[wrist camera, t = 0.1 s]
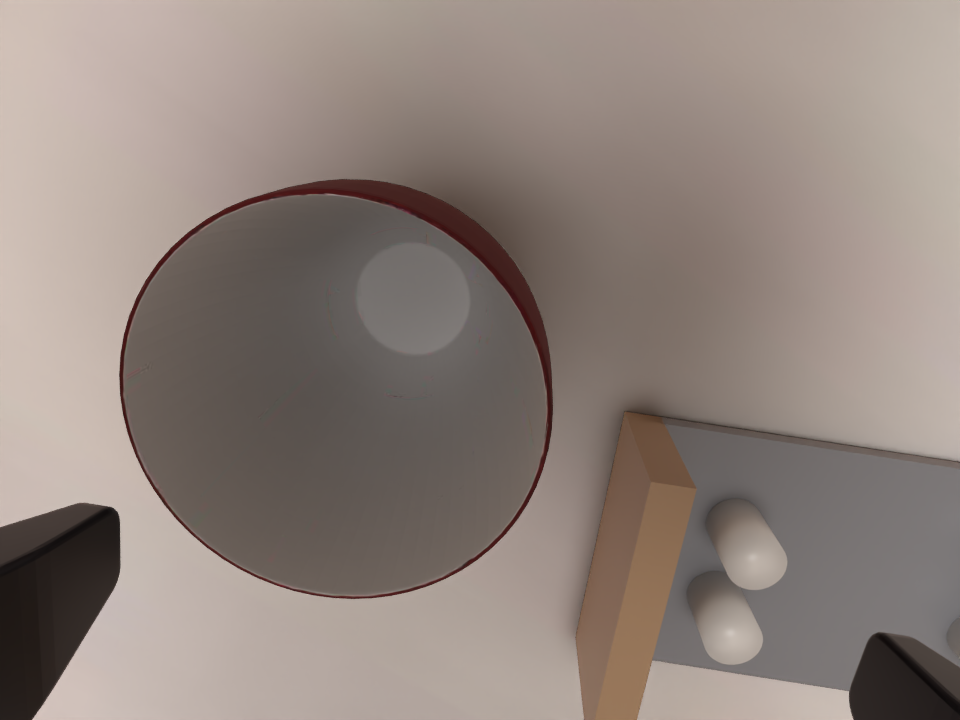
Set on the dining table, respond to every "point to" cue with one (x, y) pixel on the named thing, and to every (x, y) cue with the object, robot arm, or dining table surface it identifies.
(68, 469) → the dining table surface
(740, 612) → the peg stand
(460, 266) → the mug
